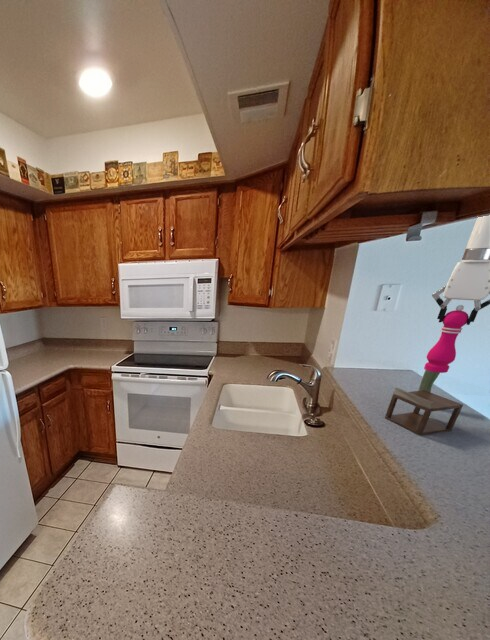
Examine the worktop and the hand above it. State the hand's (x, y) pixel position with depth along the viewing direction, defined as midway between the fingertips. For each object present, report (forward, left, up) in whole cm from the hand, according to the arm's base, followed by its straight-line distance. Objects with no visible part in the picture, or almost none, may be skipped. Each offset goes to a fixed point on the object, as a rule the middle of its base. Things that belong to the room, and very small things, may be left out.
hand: (454, 322), depth 100 cm
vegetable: (-10, -7, -31) cm, 34 cm away
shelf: (+6, +6, -31) cm, 32 cm away
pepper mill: (0, 0, -15) cm, 15 cm away
